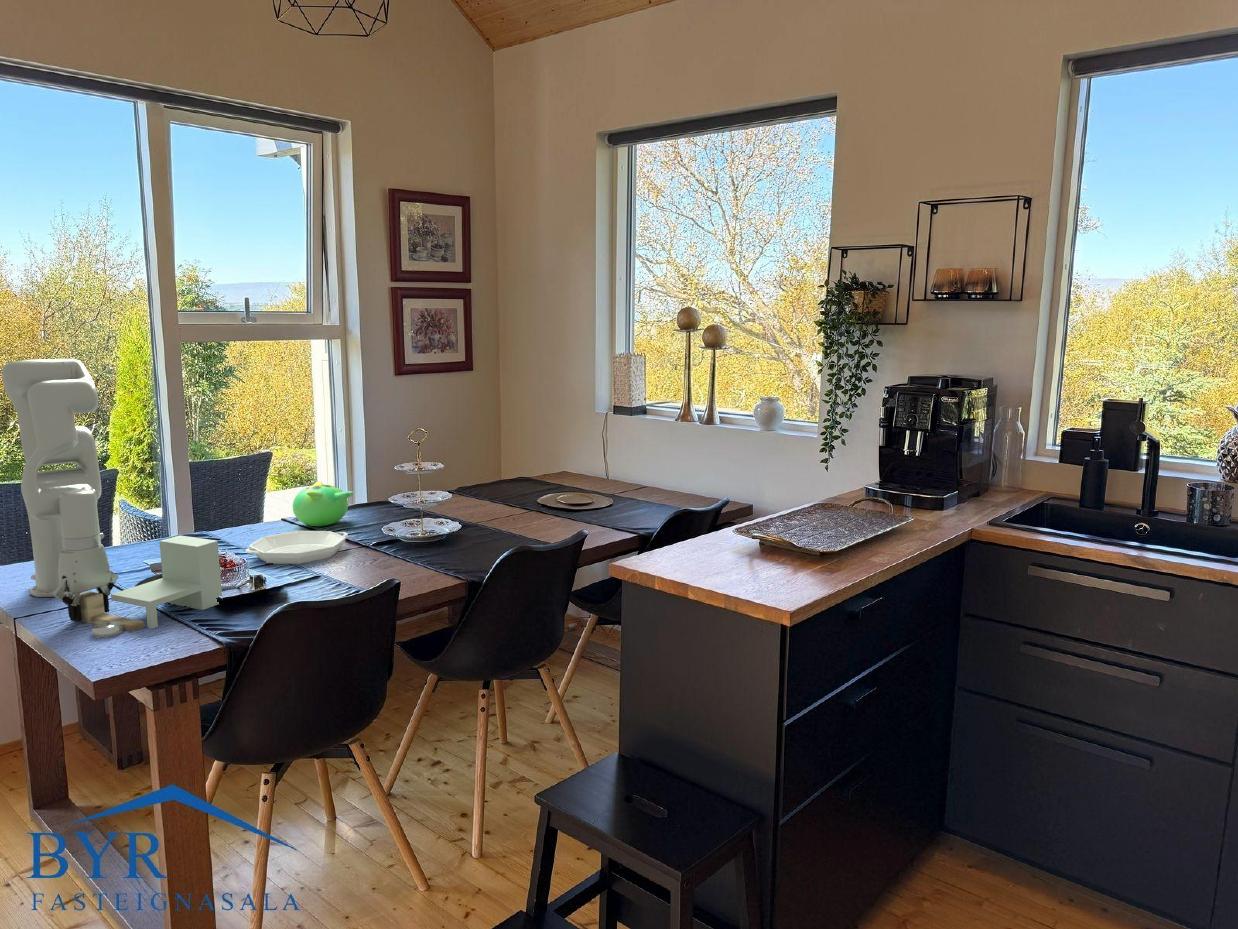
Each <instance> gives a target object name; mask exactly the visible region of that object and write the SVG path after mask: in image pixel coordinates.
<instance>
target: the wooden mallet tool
mask: <svg viewBox="0 0 1238 929" xmlns="http://www.w3.org/2000/svg"><path fill="white" fill-rule="evenodd" d="M77 605H80V608H81V618H82V620H81V621H83V622H82V623H85V622H86V623H87V624H95V623H97V624H100V623H104V622H110V621H119V622H122V623H123V631H124V630H125V631H128V632H135V631H138V630H141V629H144V628H145V621H143V620H140V619H139V620H138V619H133V618H129V617H124V616H119V615H114V614H108V613H105V611H104V601H103V594H101V593H98V592H94V591H91V590H89V591H85V592H82V593H80V596H79V600H78V603H77ZM86 623H85V624H86ZM97 624H96V625H97Z"/></svg>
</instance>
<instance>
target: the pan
mask: <svg viewBox="0 0 1238 929" xmlns="http://www.w3.org/2000/svg"><path fill="white" fill-rule="evenodd" d="M348 536H349V534H348V533H347V532H345V531H339V532H333V531H329V530H328V531H327V530H295V531H290V532H289V531H288V532H283V533H277V534H272V535H271V534H270V535H267V536H262V537H261V538H258V539H257V540H255V541H254V542H252V543H251V544H249V545H248V548H246V549H245V550H244V552H245V553H248V554H251V555H252V554H253V555H255V556H256V557H257V559H259V558H260V559H261V561H262V560H263V561H262V562H264V561H266V562H268V563H273V564H272V565H289V564H292V565H304V564H309V563H315V562H319V561H324V560H325V561H326V560H329V559H330V558H332V557H333V556H334V555H336V554H337V553H338V552H339V551H340V549H341V548H342V546H343V545H344V544H345V542H346V538H347V537H348ZM260 559H259V560H260ZM266 562H265V563H266ZM268 563H267V564H268Z"/></svg>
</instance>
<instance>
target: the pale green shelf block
mask: <svg viewBox="0 0 1238 929" xmlns="http://www.w3.org/2000/svg"><path fill="white" fill-rule="evenodd" d="M159 551H160V554H159V555H160V562H161V563H160V564H161V574H162V576H163V578H161V579H158V580H155V581H152V582H148V583H145V584H142V585H139V586H136V587H135V586H133V587H130V588H126V589H124V590H120V591H117V592H113V593H110V597H111V598H110V600H111V601H112V602H118V603H123V604H129V605H133V606H139V607H143V608H145V614H146V624H147V629H150V630H151V629H152V630H153V629H155V628H158V627H159V624H158V613H157V612H158V611H157V607H158V606H160V605H163V604H168V603H172V604H171V605H173V604H176V605H175V606H180V607H184V606H187V607H186V608H189V607H190V608H191V609H194V610H200V611H204V610H206V609H209V608H211V607H214V606H218V605H220V604H219V602H217V599H216V598H218V597H219V596H222V597H223V592H222V591H223V590H222V578H221V569H220V564H219V557H220V555H219V554H220V552H219V541H218V540H216V539H215V540H214V539H207V538H200V537H194V536H185V535H176V536H172V537H169V538H164V539H162V540H159ZM166 602H168V603H166Z"/></svg>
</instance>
